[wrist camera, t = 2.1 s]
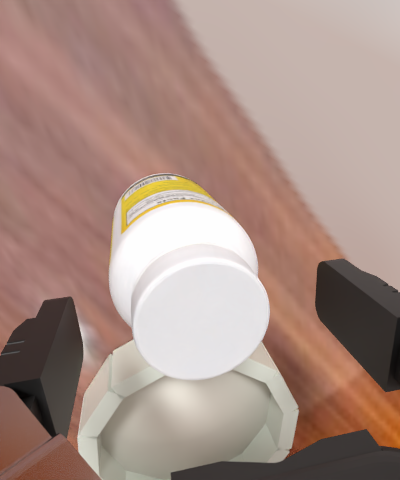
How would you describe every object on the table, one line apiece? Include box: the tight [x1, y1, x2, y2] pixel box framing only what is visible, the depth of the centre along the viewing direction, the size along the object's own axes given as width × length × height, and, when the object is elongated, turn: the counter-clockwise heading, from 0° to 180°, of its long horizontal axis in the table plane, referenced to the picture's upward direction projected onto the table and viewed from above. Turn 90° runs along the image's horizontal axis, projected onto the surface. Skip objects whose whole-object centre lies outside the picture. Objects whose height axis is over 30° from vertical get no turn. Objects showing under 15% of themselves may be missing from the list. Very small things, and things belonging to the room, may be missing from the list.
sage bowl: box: [77, 339, 299, 480], centre depth 22 cm, size 13×13×3 cm
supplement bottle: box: [109, 173, 270, 380], centre depth 14 cm, size 5×5×10 cm
